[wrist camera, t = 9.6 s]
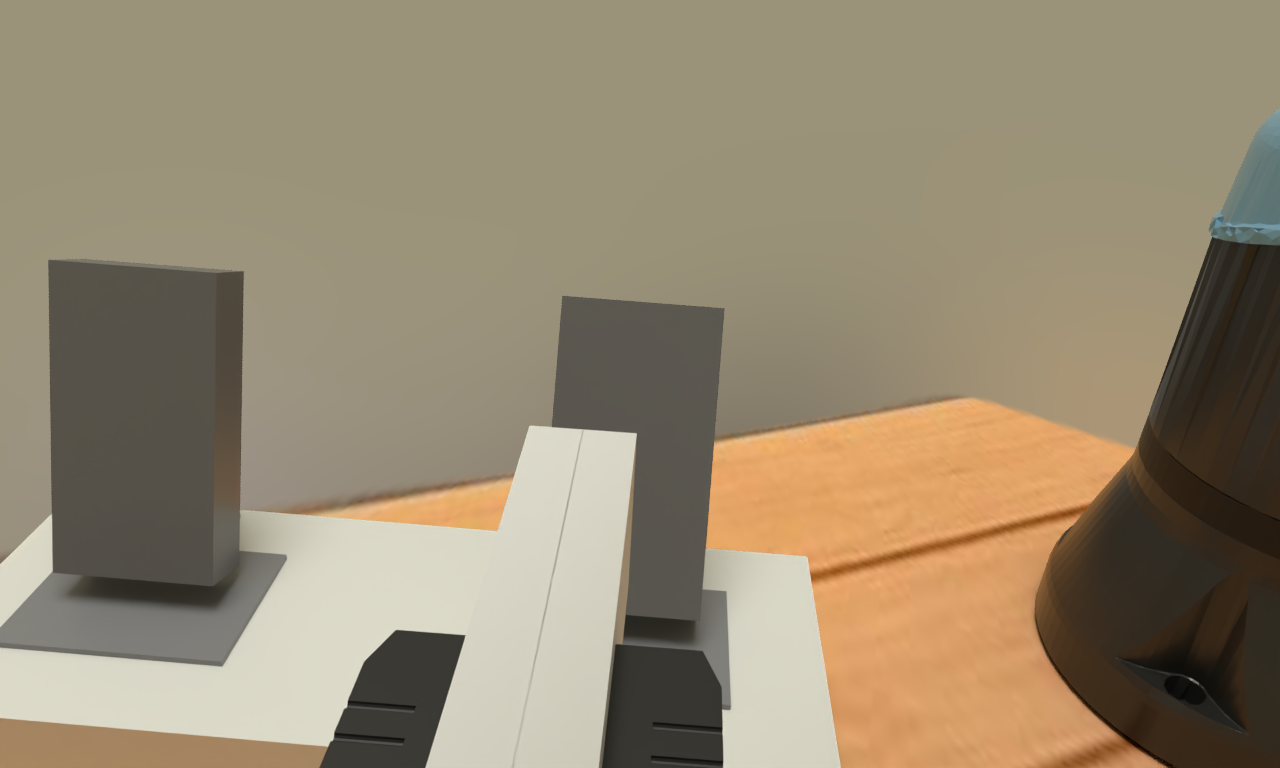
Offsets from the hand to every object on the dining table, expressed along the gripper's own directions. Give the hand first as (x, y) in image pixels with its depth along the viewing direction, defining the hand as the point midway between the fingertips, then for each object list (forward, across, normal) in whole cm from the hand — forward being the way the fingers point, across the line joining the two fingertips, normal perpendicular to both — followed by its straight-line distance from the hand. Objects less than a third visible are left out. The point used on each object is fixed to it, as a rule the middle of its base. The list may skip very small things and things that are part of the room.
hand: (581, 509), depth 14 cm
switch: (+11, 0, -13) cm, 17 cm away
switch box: (+11, -7, -19) cm, 23 cm away
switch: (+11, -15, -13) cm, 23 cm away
